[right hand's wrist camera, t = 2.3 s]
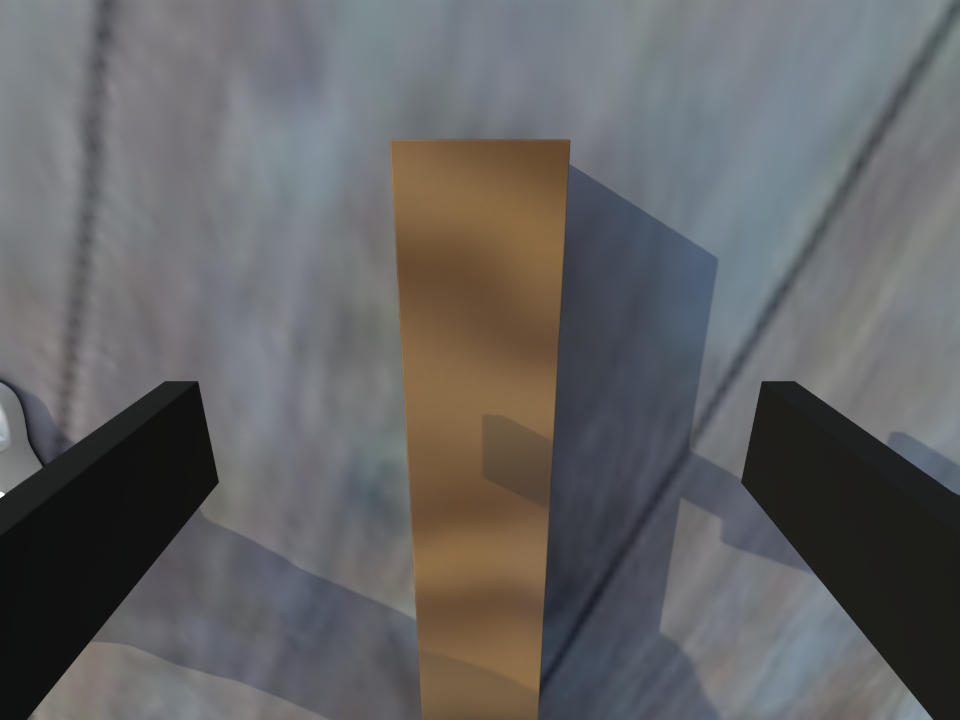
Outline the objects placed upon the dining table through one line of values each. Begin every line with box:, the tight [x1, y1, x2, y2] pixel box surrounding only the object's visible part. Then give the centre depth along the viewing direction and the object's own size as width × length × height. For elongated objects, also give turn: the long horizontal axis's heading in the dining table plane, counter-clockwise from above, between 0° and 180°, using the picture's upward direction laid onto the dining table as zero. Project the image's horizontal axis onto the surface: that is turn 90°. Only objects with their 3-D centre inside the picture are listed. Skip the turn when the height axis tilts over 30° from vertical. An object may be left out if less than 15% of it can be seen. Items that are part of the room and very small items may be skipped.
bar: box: [390, 140, 570, 720], centre depth 30 cm, size 54×6×8 cm, turn 0°
